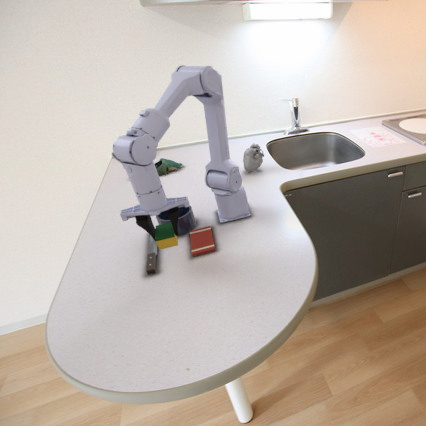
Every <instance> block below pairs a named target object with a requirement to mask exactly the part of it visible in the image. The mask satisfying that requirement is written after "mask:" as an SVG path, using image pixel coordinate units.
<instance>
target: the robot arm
mask: <svg viewBox="0 0 426 426" xmlns="http://www.w3.org/2000/svg"><path fill="white" fill-rule="evenodd" d="M170 79H171V80H170V82H169V83H168V86H167V87H166V88H165V90H164V91H163V93H162V95H161V96H160V98H159V99H158V100H157V103H156V104H155V106H154V107H153V108H152V107H151V108H150V107H149V108H148V107H147V108H145V109H141V111H140V112H139V113H138V115H139V117H138V118H137V119H136V121H134V123H133V124H132V126H131V127H128V129H127V130H126V134H125V135H120V136H118V137H117V138H116V139H115V140H114V142H113V143H112V152H111V155H112V158H114V160H116V161H118V163H120V164H121V165H122V167H123V170H125V173H126V176H127V177H128V179H129V182H130V185H131V187H132V190H133V192H134V194H135V197H136V199H137V202H138V203H139V204H137V205H134V206H130V207H128V208H124V209H121V210H120V212H119V217H120V218H121V220H122V222H126V221H128V220H129V219H133V218H134V219H135V223H136V225H137V226H138V227H140V228H142V229H143V230H144V231H145V232H147V234H149V236H150V235H151V236H152V238H153V239H154V240H155V231H156V226H155V225H154V222H153V219H152V217H156V215H159V214H160V212H163V211H166V210H168V217H169V219H170V221H171V224H172V226H173V229H174V233H175V235H176V236H177V237H179V236H180V235H179V231H178V219H179V208H180V207H184V206H185V207H190V206H191V205H190V200H189V198H188V196H179V197H167V195H166V192H165V190H164V187H163V184H162V181H161V178H160V176H159V175H158V172H157V170H156V167H155V160H156V158H157V153H158V151H157V148H158V147H159V143H160V141H161V140H162V138H163V137H164V135H165V134H166V133H167V131H168V130H169V128H170V127H171V121H170V117H171V116H172V115H173V114H174V113H175V112H176V111H177V109H178V108H179V107H180V106H181V105H182V103H184V101H185V100H186V99H187V98H188V97H194V98H195V99H197V100H198V101H199V102H200V103H201V104H202V105H203V111H204V119H205V126H206V133H207V134H206V135H207V141H208V149H209V157H210V160H209V162H208V163H207V164H206V165H205V167H204V168H205V175H204V182H205V185H206V187H207V188H209V189H210V190H211V192H212V193H213V194H214V199H215V203H216V206H217V211H216V212H217V215H218V219H219V223H220V224H223V223H228V222H232V221H236V220H240V219H243V218H248V217H250V216H251V212H250V204H249V201H248V196H247V192H246V189H245V187H244V186H242V184H243V177H242V175H241V172H240V167H239V165H238V164H237V163H235V161H233V160H232V159H231V156H230V154H231V153H230V145H229V137H228V126H227V117H226V107H225V97H224V88H223V87H224V86H223V79H222V75H221V73H220V72H219V71H218V70H217V69H216V68H215V67H213V66H212V65H205V66H203V65H184V64H181V65H178V66H177V67H176V68H175V70H174V71H173V72H172V73H170ZM155 241H156V240H155Z"/></svg>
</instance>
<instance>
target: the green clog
mask: <svg viewBox="0 0 426 426" xmlns="http://www.w3.org/2000/svg"><path fill="white" fill-rule="evenodd" d="M154 164H155V167H156V170H157V172H158V175H160V176H161V175H163V174H164V175H165V174H166V175H167V174H168V173H169V172H171V171H174V170H178V168H181V167H183V166H184V165H183V163H181V162H176V161H174V160H171V159H168V158H163V157H162V158H160V159H159V160H158V161H157V162H154Z"/></svg>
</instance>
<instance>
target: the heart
mask: <svg viewBox="0 0 426 426" xmlns="http://www.w3.org/2000/svg"><path fill="white" fill-rule="evenodd" d="M242 157H243V158H242V159H243V160H242V161H243V169H244V171H245V172H246V173H250V174H251V173H252V172H254V171H257V170H258V169H259V168H260V167H261V166H262V164H263V160H264V159H263V158H264V157H265V154H264V150H262V148H261V146H260V145H259V144H258V143H252V144H250V146H249V147H247V148H246V149H245V150H244V152H243V156H242Z"/></svg>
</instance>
